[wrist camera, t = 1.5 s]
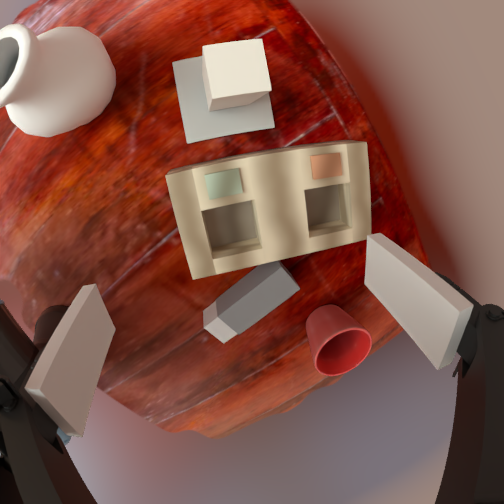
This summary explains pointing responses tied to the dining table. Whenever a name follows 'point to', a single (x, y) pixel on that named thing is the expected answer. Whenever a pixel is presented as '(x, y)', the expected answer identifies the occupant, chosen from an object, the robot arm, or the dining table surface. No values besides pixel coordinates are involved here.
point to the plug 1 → (234, 73)
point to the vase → (53, 78)
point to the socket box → (271, 204)
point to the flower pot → (336, 340)
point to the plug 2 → (249, 300)
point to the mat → (220, 121)
